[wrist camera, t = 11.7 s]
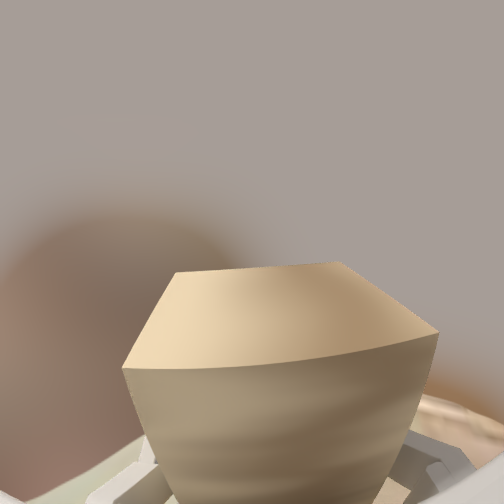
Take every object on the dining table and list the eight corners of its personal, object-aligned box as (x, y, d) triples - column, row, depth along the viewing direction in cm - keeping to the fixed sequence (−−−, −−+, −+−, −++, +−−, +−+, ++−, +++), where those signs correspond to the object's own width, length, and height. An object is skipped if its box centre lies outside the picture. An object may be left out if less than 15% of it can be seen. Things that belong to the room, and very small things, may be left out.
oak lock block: (221, 568, 6) (121, 368, 4) (219, 491, 11) (175, 272, 9) (337, 553, 7) (439, 332, 4) (314, 481, 11) (339, 261, 9)
